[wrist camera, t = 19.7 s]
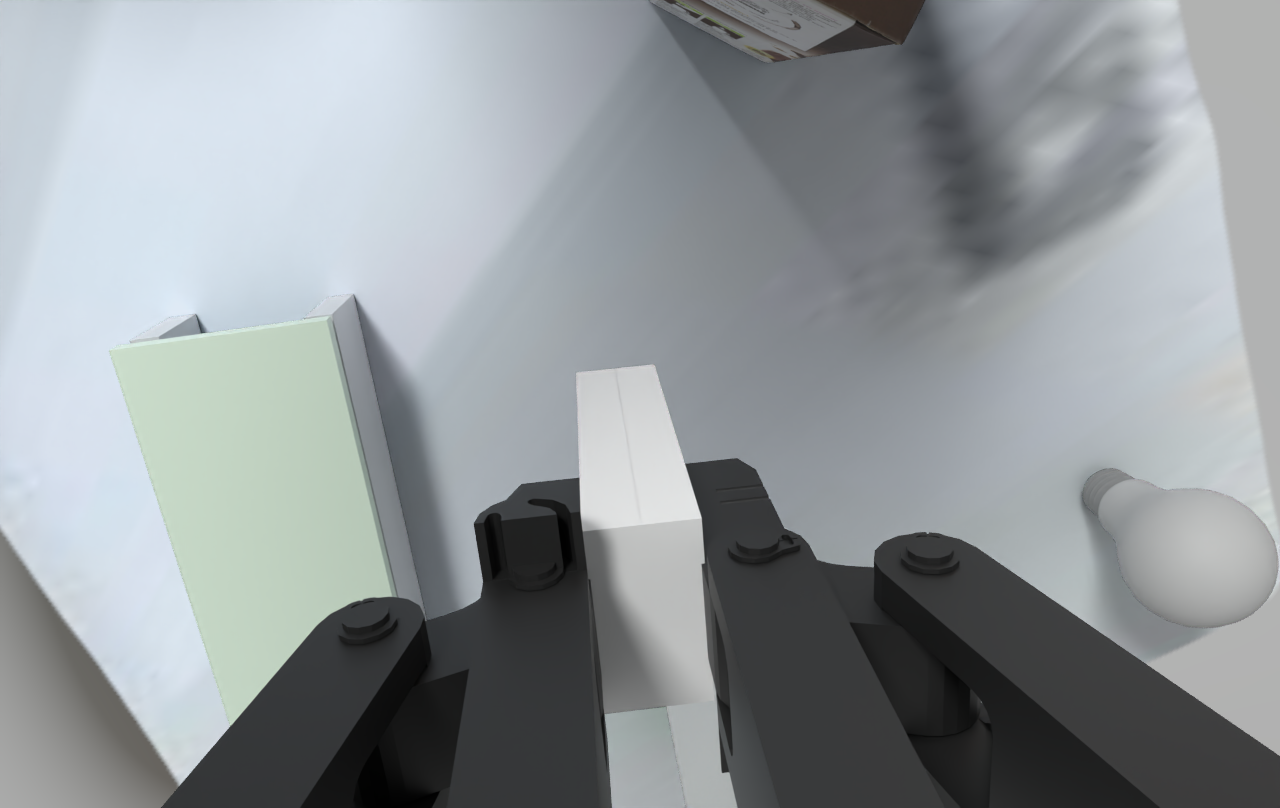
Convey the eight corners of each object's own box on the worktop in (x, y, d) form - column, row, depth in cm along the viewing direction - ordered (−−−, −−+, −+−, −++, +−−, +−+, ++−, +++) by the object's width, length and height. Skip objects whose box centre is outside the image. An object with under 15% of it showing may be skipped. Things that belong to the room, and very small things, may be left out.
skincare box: (649, 628, 49) (684, 859, 34) (764, 582, 49) (848, 796, 34) (705, 744, 52) (759, 1004, 37) (814, 701, 51) (913, 947, 37)
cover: (117, 345, 37) (108, 350, 37) (330, 315, 38) (326, 320, 37) (244, 743, 44) (239, 755, 43) (424, 713, 45) (422, 723, 44)
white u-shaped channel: (169, 317, 42) (129, 340, 38) (353, 293, 42) (332, 314, 38) (282, 702, 49) (259, 753, 45) (440, 679, 49) (429, 729, 45)
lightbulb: (1131, 408, 47) (1290, 500, 37) (1169, 500, 49) (1332, 611, 38) (1023, 467, 48) (1150, 573, 37) (1065, 555, 49) (1197, 680, 39)
